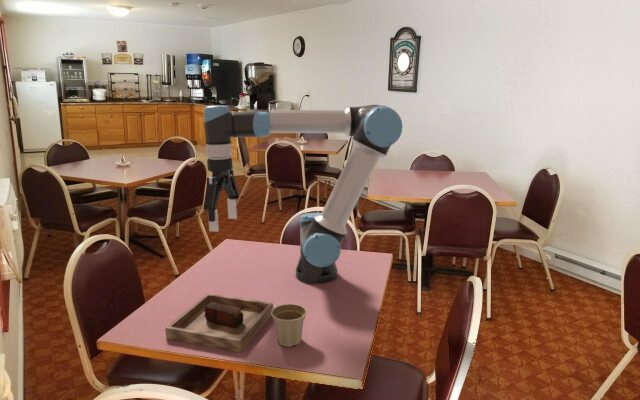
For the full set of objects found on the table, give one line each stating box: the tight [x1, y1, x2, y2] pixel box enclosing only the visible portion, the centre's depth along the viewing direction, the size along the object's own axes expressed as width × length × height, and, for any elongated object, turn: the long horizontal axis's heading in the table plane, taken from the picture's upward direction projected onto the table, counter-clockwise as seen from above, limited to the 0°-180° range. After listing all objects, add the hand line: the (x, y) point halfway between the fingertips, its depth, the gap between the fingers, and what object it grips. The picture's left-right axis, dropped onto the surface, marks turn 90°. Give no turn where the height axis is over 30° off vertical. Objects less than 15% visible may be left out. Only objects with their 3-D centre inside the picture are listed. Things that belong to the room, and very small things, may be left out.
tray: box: [164, 292, 274, 353], centre depth 130 cm, size 22×22×3 cm
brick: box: [205, 302, 243, 328], centre depth 130 cm, size 11×4×5 cm, turn 67°
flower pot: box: [271, 303, 308, 348], centre depth 122 cm, size 9×9×9 cm
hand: (223, 224), depth 144 cm, fingers open, 13 cm apart
